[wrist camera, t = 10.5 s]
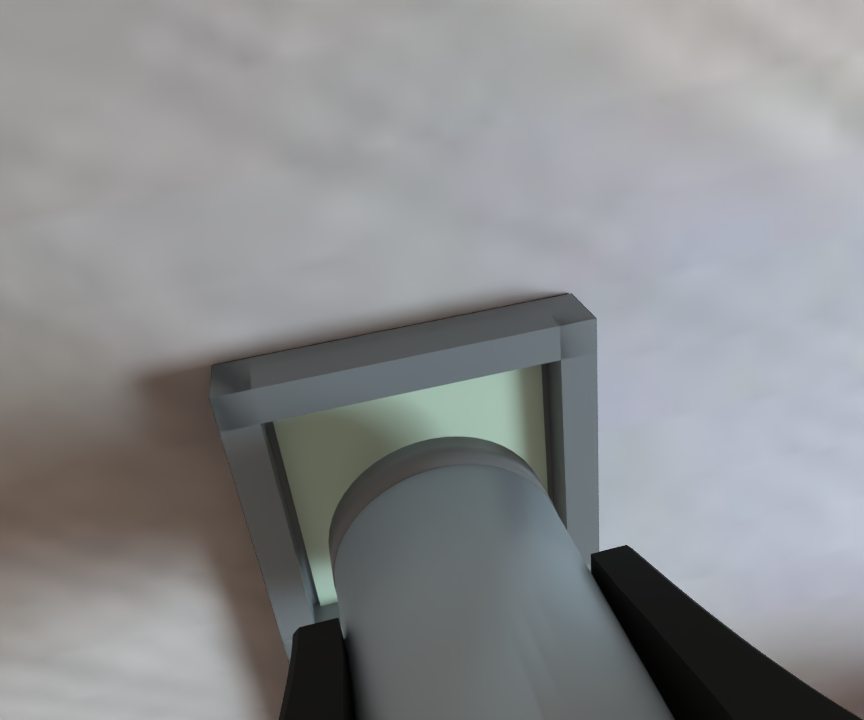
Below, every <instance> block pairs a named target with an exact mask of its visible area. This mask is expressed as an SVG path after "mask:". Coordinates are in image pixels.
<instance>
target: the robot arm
mask: <svg viewBox="0 0 864 720" xmlns="http://www.w3.org/2000/svg"><path fill="white" fill-rule="evenodd" d="M591 574H592V575H593V577H594V579H595V581H596V582H597V584H598V586H599V587H600V589H601V591H602V593H603V594H604V596H605V598H606V600H607V601H608V603H609V605H610V607H611V608H612V610H613V612H614V614H615V615H616V617H617V619H618V621H619V622H620V624H621V626H622V628H623V629H624V631H625V633H626V635H627V636H628V638H629V640H630V642H631V643H632V645H633V647H634V649H635V650H636V652H637V654H638V656H639V657H640V659H641V661H642V663H643V664H644V666H645V668H646V670H647V671H648V673H649V675H650V677H651V678H652V680H653V682H654V684H655V685H656V687H657V689H658V691H659V692H660V694H661V696H662V698H663V699H664V701H665V703H666V705H667V706H668V708H669V710H670V712H671V713H672V715H673V717H674V719H675V720H862V719H861V718H859V717H857V716H856V715H854V714H853V713H851V712H849V711H848V710H846V709H844V708H843V707H841V706H839V705H838V704H836V703H835V702H833V701H832V700H830V699H828V698H827V697H825V696H824V695H822V694H821V693H819V692H818V691H816V690H815V689H813V688H812V687H810V686H809V685H807V684H806V683H804V682H803V681H801V680H800V679H798V678H797V677H795V676H794V675H793V674H791V673H790V672H788V671H787V670H785V669H784V668H782V667H781V666H780V665H778V664H777V663H775V662H774V661H772V660H771V659H770V658H768V657H767V656H766V655H764V654H763V653H761V652H760V651H759V650H757V649H756V648H755V647H753V646H752V645H750V644H749V643H748V642H746V641H745V640H744V639H743V638H741V637H740V636H739V635H737V634H736V633H735V632H733V631H732V630H731V629H729V628H728V627H727V626H726V625H724V624H723V623H722V622H720V621H719V620H718V619H716V618H715V617H714V616H713V615H711V614H710V613H709V612H708V611H706V610H705V609H704V608H703V607H701V606H700V605H699V604H698V603H696V602H695V601H694V600H693V599H691V598H690V597H689V596H688V595H687V594H685V593H684V592H683V591H682V590H680V589H679V588H678V587H677V586H676V585H674V584H673V583H672V582H671V581H670V580H668V579H667V578H666V577H665V576H664V575H663V574H661V573H660V572H659V571H658V570H657V569H655V568H654V567H653V566H652V565H651V564H650V563H648V562H647V561H646V560H645V559H644V558H643V557H641V556H640V555H639V554H638V553H637V552H636V551H634V550H633V549H632V548H630V547H629V546H627V545H625V546H621V547H617V548H613V549H609V550H605V551H601V552H597V553H593V554H591ZM279 720H355V713H354V705H353V697H352V690H351V683H350V676H349V670H348V663H347V656H346V649H345V643H344V638H343V634H342V630H341V626H340V622H339V618H334V619H330V620H326V621H322V622H318V623H314V624H310V625H306V626H302V627H299V628H298V629H297V630H296V631H295V633H294V634H293V638H292V650H291V658H290V665H289V672H288V677H287V683H286V688H285V693H284V698H283V703H282V707H281V712H280V716H279Z"/></svg>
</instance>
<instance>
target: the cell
mask: <svg viewBox="0 0 864 720" xmlns="http://www.w3.org/2000/svg"><path fill="white" fill-rule="evenodd" d="M328 543H329V554H330V560H331V567H332V574H333V581H334V587H335V590H336V594H337V600H338V607H339V613H340V620H341V627H342V634H343V638H344V643H345V649H346V656H347V663H348V670H349V676H350V683H351V690H352V697H353V705H354V713H355V720H675V719H674V717H673V715H672V713H671V712H670V710H669V708H668V706H667V705H666V703H665V701H664V699H663V698H662V696H661V694H660V692H659V691H658V689H657V687H656V685H655V684H654V682H653V680H652V678H651V677H650V675H649V673H648V671H647V670H646V668H645V666H644V664H643V663H642V661H641V659H640V657H639V656H638V654H637V652H636V650H635V649H634V647H633V645H632V643H631V642H630V640H629V638H628V636H627V635H626V633H625V631H624V629H623V628H622V626H621V624H620V622H619V621H618V619H617V617H616V615H615V614H614V612H613V610H612V608H611V607H610V605H609V603H608V601H607V600H606V598H605V596H604V594H603V593H602V591H601V589H600V587H599V586H598V584H597V582H596V581H595V579H594V577H593V575H592V574H591V572H590V570H589V568H588V567H587V565H586V563H585V561H584V560H583V558H582V556H581V554H580V553H579V551H578V549H577V547H576V546H575V544H574V542H573V540H572V539H571V537H570V535H569V533H568V532H567V530H566V528H565V526H564V525H563V523H562V521H561V519H560V518H559V516H558V514H557V512H556V509H555V507H554V505H553V503H552V501H551V499H550V498H549V496H548V494H547V493H546V491H545V489H544V487H543V486H542V484H541V482H540V480H539V479H538V477H537V475H536V474H535V472H534V471H533V469H532V468H531V467H530V466H529V465H528V464H527V463H526V461H525V460H524V459H522V458H521V457H520V456H519V455H517V454H516V453H515V452H513V451H511V450H510V449H508V448H506V447H504V446H502V445H500V444H497V443H494V442H492V441H488V440H484V439H479V438H473V437H464V436H453V437H440V438H433V439H428V440H424V441H420V442H416V443H413V444H411V445H408V446H405V447H402V448H400V449H398V450H396V451H394V452H392V453H390V454H388V455H386V456H385V457H383V458H382V459H380V460H378V461H377V462H375V463H374V464H373V465H371V466H370V467H369V468H368V469H366V470H365V471H364V472H363V473H362V474H361V475H360V476H359V477H358V478H357V479H356V480H355V481H354V482H353V483H352V484H351V485H350V487H349V488H348V489H347V491H346V492H345V493H344V495H343V496H342V498H341V500H340V502H339V503H338V505H337V507H336V510H335V512H334V515H333V517H332V521H331V525H330V529H329V540H328Z"/></svg>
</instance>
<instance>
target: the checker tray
mask: <svg viewBox="0 0 864 720" xmlns="http://www.w3.org/2000/svg"><path fill="white" fill-rule="evenodd" d="M209 400H210V403H211V407H212V410H213V413H214V417H215V420H216V423H217V427H218V430H219V433H220V437H221V440H222V443H223V446H224V450H225V453H226V456H227V460H228V463H229V466H230V470H231V473H232V476H233V480H234V483H235V486H236V489H237V493H238V496H239V499H240V503H241V506H242V509H243V513H244V516H245V519H246V523H247V526H248V529H249V532H250V536H251V539H252V542H253V546H254V549H255V552H256V556H257V559H258V562H259V566H260V569H261V572H262V575H263V579H264V582H265V585H266V589H267V592H268V595H269V599H270V602H271V605H272V609H273V612H274V615H275V618H276V622H277V625H278V628H279V632H280V635H281V638H282V642H283V645H284V648H285V652H286V655H287V658H288V661H289V665H290V658H291V650H292V638H293V634H294V633H295V631H296V630H297V629H298V628H299V627H302V626H306V625H310V624H314V623H318V622H322V621H326V620H330V619H334V618H339V622H340V626H341V620H340V613H339V607H338V600H337V594H336V590H335V587H334V581H333V574H332V567H331V560H330V554H329V543H328V540H329V529H330V525H331V521H332V517H333V515H334V512H335V510H336V507H337V505H338V503H339V502H340V500H341V498H342V496H343V495H344V493H345V492H346V491H347V489H348V488H349V487H350V485H351V484H352V483H353V482H354V481H355V480H356V479H357V478H358V477H359V476H360V475H361V474H362V473H363V472H364V471H365V470H366V469H368V468H369V467H370V466H371V465H373V464H374V463H375V462H377V461H378V460H380V459H382V458H383V457H385V456H386V455H388V454H390V453H392V452H394V451H396V450H398V449H400V448H402V447H405V446H408V445H411V444H413V443H416V442H420V441H424V440H428V439H433V438H440V437H453V436H464V437H473V438H479V439H484V440H488V441H492V442H494V443H497V444H500V445H502V446H504V447H506V448H508V449H510V450H511V451H513V452H515V453H516V454H517V455H519V456H520V457H521V458H522V459H524V460H525V461H526V463H527V464H528V465H529V466H530V467H531V468H532V469H533V471H534V472H535V474H536V475H537V477H538V479H539V480H540V482H541V484H542V486H543V487H544V489H545V491H546V493H547V494H548V496H549V498H550V499H551V501H552V503H553V505H554V507H555V509H556V512H557V514H558V516H559V518H560V519H561V521H562V523H563V525H564V526H565V528H566V530H567V532H568V533H569V535H570V537H571V539H572V540H573V542H574V544H575V546H576V547H577V549H578V551H579V553H580V554H581V556H582V558H583V560H584V561H585V563H586V565H587V567H588V568H589V570H590V572H591V554H593V553H597V552H599V498H598V402H597V318H596V317H595V316H594V315H593V314H592V313H591V312H590V311H589V310H588V309H587V308H586V307H585V306H584V305H583V304H582V303H581V302H580V301H579V300H578V299H577V298H576V297H575V296H574V295H573V294H572V293H571V294H566V295H561V296H556V297H551V298H546V299H541V300H536V301H531V302H526V303H521V304H516V305H511V306H506V307H501V308H496V309H491V310H486V311H481V312H476V313H471V314H466V315H461V316H456V317H451V318H446V319H441V320H436V321H431V322H426V323H421V324H416V325H411V326H406V327H401V328H396V329H391V330H386V331H381V332H376V333H371V334H366V335H361V336H357V337H352V338H347V339H342V340H337V341H332V342H327V343H322V344H317V345H312V346H307V347H302V348H297V349H292V350H287V351H282V352H277V353H272V354H267V355H262V356H257V357H252V358H247V359H242V360H237V361H232V362H227V363H222V364H217V365H212V368H211V380H210V392H209ZM341 630H342V627H341Z"/></svg>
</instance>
